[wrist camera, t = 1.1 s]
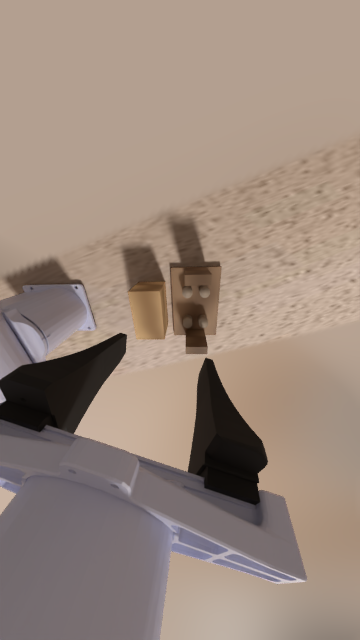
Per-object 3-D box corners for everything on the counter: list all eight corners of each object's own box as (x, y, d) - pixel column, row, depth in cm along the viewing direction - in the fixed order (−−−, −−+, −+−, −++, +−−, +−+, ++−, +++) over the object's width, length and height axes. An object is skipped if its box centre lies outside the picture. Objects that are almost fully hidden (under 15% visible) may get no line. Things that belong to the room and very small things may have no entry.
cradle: (174, 333, 28) (171, 353, 23) (171, 267, 23) (166, 275, 18) (215, 333, 27) (221, 353, 22) (220, 266, 22) (230, 273, 17)
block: (144, 322, 27) (136, 339, 23) (138, 281, 24) (127, 291, 19) (168, 322, 27) (164, 339, 22) (165, 281, 24) (160, 291, 19)
